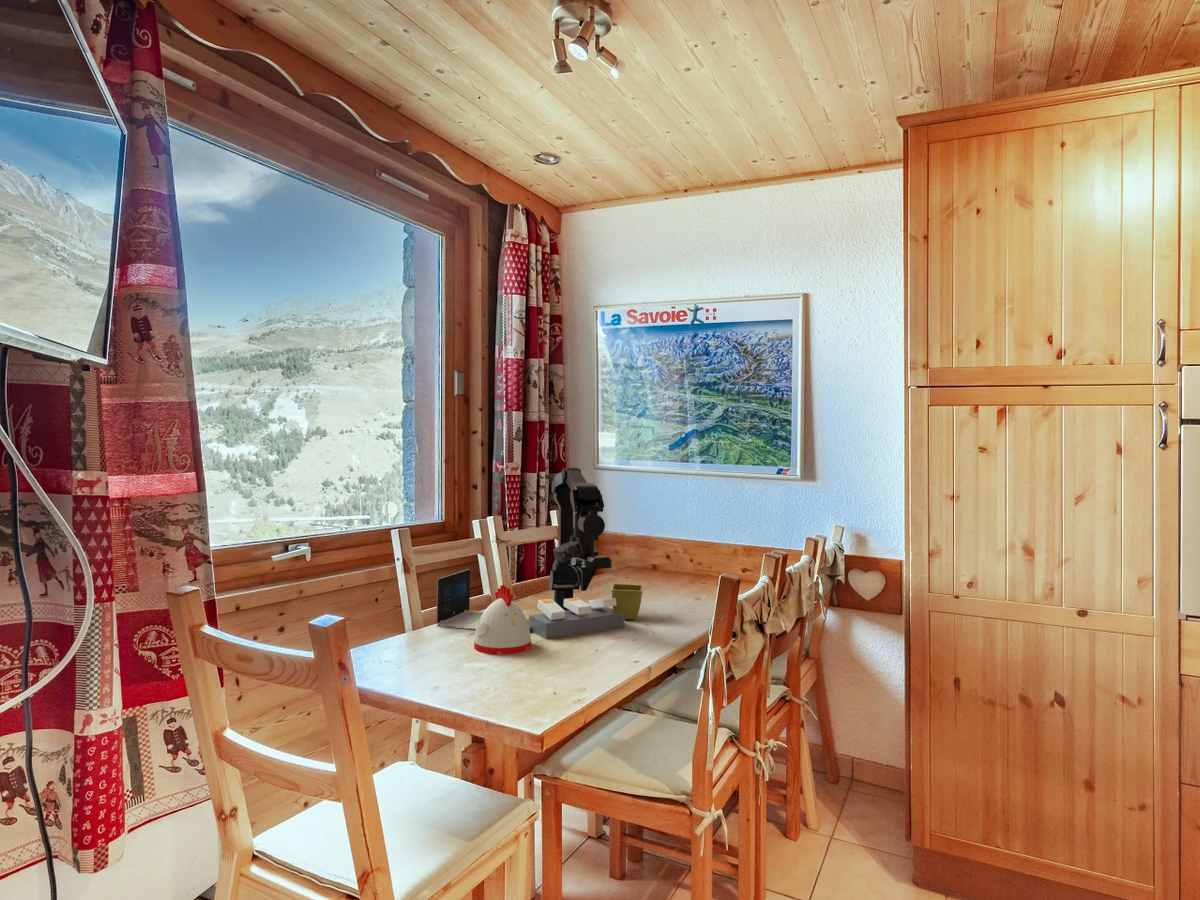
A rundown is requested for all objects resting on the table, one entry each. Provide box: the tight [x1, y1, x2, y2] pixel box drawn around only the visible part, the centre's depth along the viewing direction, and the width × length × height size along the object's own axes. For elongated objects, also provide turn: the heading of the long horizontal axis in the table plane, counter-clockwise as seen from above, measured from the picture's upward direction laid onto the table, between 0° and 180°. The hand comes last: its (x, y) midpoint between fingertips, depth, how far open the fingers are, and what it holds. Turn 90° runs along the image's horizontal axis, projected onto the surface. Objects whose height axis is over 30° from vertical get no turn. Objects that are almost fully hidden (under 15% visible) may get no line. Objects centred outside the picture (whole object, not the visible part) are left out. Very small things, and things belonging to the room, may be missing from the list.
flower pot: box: [611, 583, 644, 621], centre depth 207 cm, size 9×9×9 cm
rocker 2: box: [564, 597, 591, 615], centre depth 194 cm, size 8×4×2 cm, turn 32°
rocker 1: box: [536, 598, 565, 620], centre depth 190 cm, size 8×4×2 cm, turn 31°
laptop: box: [435, 568, 484, 631], centre depth 201 cm, size 18×12×13 cm
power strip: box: [528, 606, 625, 640], centre depth 192 cm, size 10×30×4 cm, turn 122°
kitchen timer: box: [473, 584, 532, 656], centre depth 176 cm, size 14×14×15 cm
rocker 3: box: [588, 597, 617, 608], centre depth 198 cm, size 8×4×2 cm, turn 33°
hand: (583, 590), depth 192 cm, fingers closed
